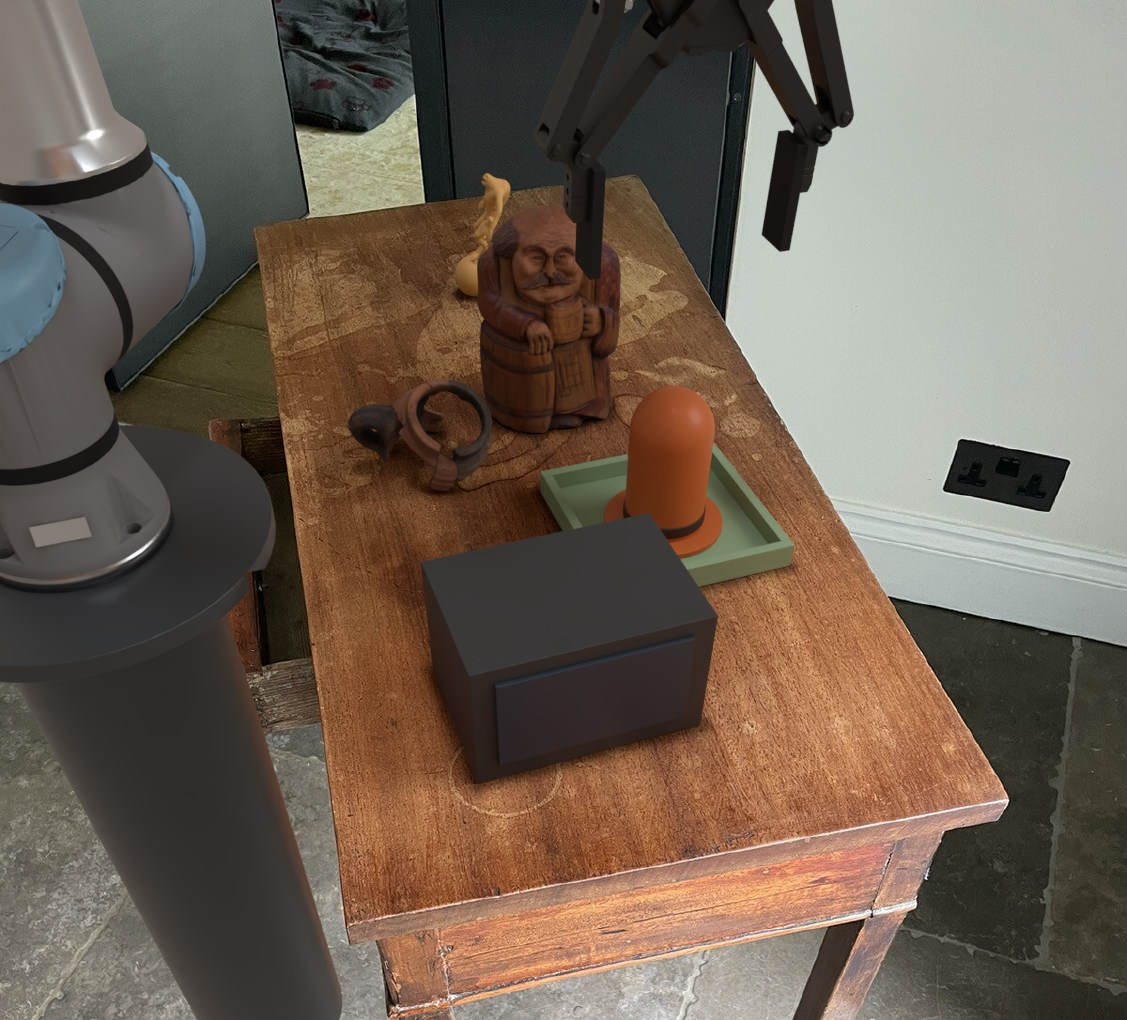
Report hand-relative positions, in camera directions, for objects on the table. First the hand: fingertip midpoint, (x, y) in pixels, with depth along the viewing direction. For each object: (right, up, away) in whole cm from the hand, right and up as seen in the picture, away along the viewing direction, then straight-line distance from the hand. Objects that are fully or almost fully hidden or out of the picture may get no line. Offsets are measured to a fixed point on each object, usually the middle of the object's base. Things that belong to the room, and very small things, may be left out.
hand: (683, 256), depth 71 cm
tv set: (-8, -29, +4) cm, 30 cm away
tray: (0, -14, +17) cm, 22 cm away
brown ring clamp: (-20, -8, +22) cm, 31 cm away
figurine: (-16, +16, +43) cm, 48 cm away
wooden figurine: (-9, -2, +28) cm, 29 cm away
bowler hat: (0, -14, +16) cm, 22 cm away
